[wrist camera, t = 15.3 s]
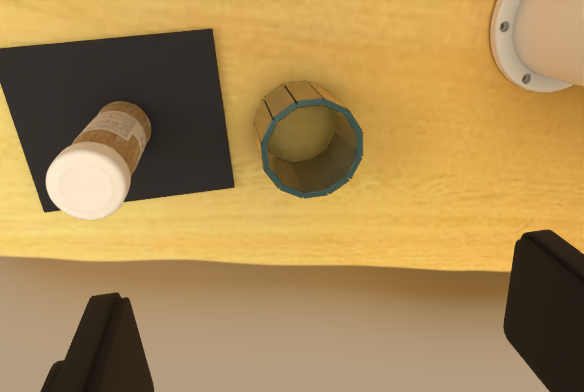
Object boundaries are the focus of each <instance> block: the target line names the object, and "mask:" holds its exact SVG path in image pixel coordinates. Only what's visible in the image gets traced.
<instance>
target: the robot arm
mask: <svg viewBox="0 0 584 392" xmlns="http://www.w3.org/2000/svg"><path fill="white" fill-rule="evenodd" d="M500 26H501V28H500ZM490 40H491V48H492V53H493V57H494V59H495V62H496V64H497V66H498V68H499V69H500V71H501V72H502V73H503V75H504V76H505V77H506V78H507V79H508V80H510V81H511V82H512V83H513V84H515V85H517V86H519V87H521V88H524V89H527V90H531V91H534V92H544V93H546V92H555V91H559V90H563V89H566V88H569V87H571V86H573V85H575V84H576V85H580V86H584V0H497V2H496V5H495V9H494V12H493V15H492V21H491V28H490ZM504 332H505V335H506V338H507V339H508V341H509V342H510V343H511V344H512V346H513V347H514V348H515V349H516V351H517V352H518V353H519V354H520V356H521V357H522V358H523V359H524V360H525V362H526V363H527V364H528V365H529V367H530V368H531V369H532V370H533V372H534V373H535V374H536V375H537V377H538V378H539V379H540V380H541V381H542V383H543V384H544V385H545V386H546V388H547V389H548V390H549V391H550V392H584V254H583V253H581V252H580V251H579V250H577V249H576V248H575V247H573V246H572V245H571V244H569V243H568V242H566V241H565V240H564V239H562V238H561V237H560V236H558V235H557V234H556V233H554V232H553V231H551V230H540V231H533V232H527V233H524V234H523V235H522V237H521V239H519V240H517V242H516V244H515V249H514V256H513V263H512V270H511V277H510V284H509V291H508V298H507V304H506V311H505V318H504ZM41 392H154V387H153V381H152V378H151V374H150V371H149V367H148V364H147V360H146V356H145V353H144V349H143V346H142V342H141V338H140V335H139V331H138V328H137V324H136V321H135V317H134V313H133V310H132V306H131V303H130V300H129V298H127V297H126V298H121V296H120V294H119V293H110V294H103V295H96V296H92V297H91V298H90V299H89V302H88V304H87V306H86V309H85V311H84V314H83V316H82V319H81V321H80V324H79V326H78V328H77V331H76V333H75V336H74V338H73V340H72V343H71V345H70V348H69V350H68V353H67V355H66V357H65V360H63V361H57V362H56V363H54V364H53V366H52V367H51V369H50V371H49V374H48V376H47V378H46V380H45V383H44V385H43V387H42V390H41Z"/></svg>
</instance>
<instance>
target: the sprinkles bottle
mask: <svg viewBox="0 0 584 392" xmlns="http://www.w3.org/2000/svg"><path fill="white" fill-rule="evenodd" d="M150 136H151V123H150V121H149V118H148V116H147V115H146V114H145V113H144V111H143V110H142V109H141V108H139V107H138V106H137V105H135V104H132V103H129V102H124V101H116V102H112V103H110V104H108V105H106V106H105V107H103V108H102V109H101V110H100V112H99V113H98V115H97V117H95V118H94V119H93V120H92V121H91V122H90V124H89V125H88V126H87V127H86V128H85V129H84V130H83V131H82V132H81V133H80V134H79V136H78V137H77V138H76V139H75V140H74V142H73V144H72V145H71V146H69V147H67V148H66V149H64V150H63V151H62V152H61V153H60V154H59V155H58V156H57V157H56V158H55V160H54V161H53V162H52V164H51V165H50V167H49V169H48V171H47V174H46V188H47V192H48V194H49V196H50V198H51V200H52V201H53V203H54V204H55V205H56V206H57V207H58V208H59V209H60V210H62V211H63V212H64V213H66V214H68V215H70V216H72V217H75V218H79V219H84V220H96V219H101V218H104V217H107V216H109V215H111V214H112V213H114V212H115V211H116V210H117V209H118V208H119V207H120V206H121V205H122V203H123V202H124V200H125V198H126V195H127V193H128V190H129V187H130V182H131V176H132V174H133V172H134V170H135V168H136V166H137V164H138V162H139V160H140V157H141V155H142V153H143V151H144V148H145V145H146V144H147V142H148V141H149V139H150Z"/></svg>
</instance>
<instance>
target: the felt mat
mask: <svg viewBox="0 0 584 392" xmlns="http://www.w3.org/2000/svg"><path fill="white" fill-rule="evenodd" d="M0 83H1V86H2V89H3V92H4V95H5V98H6V101H7V104H8V107H9V110H10V113H11V116H12V119H13V122H14V125H15V128H16V131H17V133H18V136H19V139H20V142H21V145H22V148H23V151H24V154H25V157H26V160H27V163H28V166H29V169H30V172H31V175H32V178H33V181H34V184H35V187H36V190H37V192H38V195H39V198H40V201H41V204H42V207H43V210H44V212H52V211H59V210H60V209H59V208H58V207H57V206H56V205H55V204H54V203H53V201H52V200H51V198H50V196H49V194H48V192H47V188H46V174H47V171H48V169H49V167H50V165H51V164H52V162H53V161H54V160H55V158H56V157H57V156H58V155H59V154H60V153H61V152H62V151H63V150H64V149H66V148H67V147H69V146H71V145H72V144H73V142H74V140H75V139H76V138H77V137H78V136H79V134H80V133H81V132H82V131H83V130H84V129H85V128H86V127H87V126H88V125H89V124H90V122H91V121H92V120H93V119H94V118H95V117H97V115H98V113H99V112H100V110H101V109H102V108H103V107H105V106H106V105H108V104H110V103H112V102H116V101H124V102H129V103H132V104H135V105H137V106H138V107H139V108H141V109H142V110H143V111H144V113H145V114H146V115H147V116H148V118H149V121H150V123H151V136H150V139H149V141H148V142H147V144H146V145H145V148H144V151H143V153H142V155H141V157H140V160H139V162H138V164H137V166H136V168H135V170H134V172H133V174H132V176H131V182H130V187H129V190H128V193H127V195H126V198H125V200H124V202H128V201H136V200H143V199H151V198H159V197H166V196H174V195H182V194H189V193H197V192H204V191H212V190H220V189H227V188H234V181H233V174H232V167H231V160H230V153H229V146H228V139H227V131H226V124H225V117H224V110H223V103H222V96H221V89H220V82H219V75H218V68H217V60H216V53H215V46H214V39H213V32H212V29H204V30H193V31H182V32H172V33H161V34H150V35H140V36H129V37H118V38H108V39H97V40H87V41H76V42H65V43H55V44H44V45H33V46H23V47H12V48H1V49H0Z"/></svg>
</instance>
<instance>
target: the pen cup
mask: <svg viewBox="0 0 584 392" xmlns="http://www.w3.org/2000/svg"><path fill="white" fill-rule="evenodd" d="M264 98H265V99H262V102H261V104H260V106H259V108H258V111H257V113H256V115H255V117H254V130H255V138H256V144H257V147H258V151H259V155H260V158H261V162H262V166H263V169H264V171H265V173H266V174H267V175H268V176H269V178H270V179H271V180H272V181H273V183H274V184H275V185H276V186H277V188H278V189H279V188H280V190H281V191H284V192H287V193H289V194H292V195H295V196H297V197H300V198H302V197H303V198H311V197H318V196H326V195H328V193H329V194H331V193H332V192H334V191H335V190H337V189H338V188H340V187H341V186H343V185H344V184H346V183H347V182H348V181H349V179H351V178H352V176H353V174H354V173H355V171H356V169H357V167H358V165H359V163H360V162H361V160H362V157H361V156H363V132H362V129H361V128H360V126H359V125H358V123H357V121H356V120H355V118H354V117H353V115H352V114H351V112H350V111H349V110H348V109H347V108H346V107H345V106H344V105H343V104H342V103H341V102H340V101H339V100H338V99H336V98H335V97H334V96H333V95H332V94H331V93H330V92H329V91H328V90H326V89H324V88H322V87H320V86H317V85H315V84H313V83H311V82H309V81H308V82H307V81H300V82H291V83H284V85H283V84H281V85H280V86H279V87H277V88H276V89H275V90H273V91H272V92H271V93H269V94H268V95H266V96H265V97H264ZM315 105H324V106H327V107H329V108H331V109H333V110H335V113H336V133H335V135H334V137H333V139H332V141H331V143H330V145H329V147H328V149H327V150H326V151H324V152H323V153H321V154H320V155H318V156H317V157H316V158H314V159H313V160H311V161H306V162H298V163H289V162H286V161H284V160H281V159H279V158H276V157H274V156H273V155H272V154H271V153H270V151H269V150H268V148H267V144H268V141H269V139H270V137H271V135H272V133H273V131H274V128H275V126H276V124H277V122H278V121H280V120H281V119H283V118H284V117H285V116H287V115H288V114H290V113H291V112H292V111H294V110H295V109H296V108H298V107H306V106H315ZM348 178H349V179H348Z"/></svg>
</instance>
